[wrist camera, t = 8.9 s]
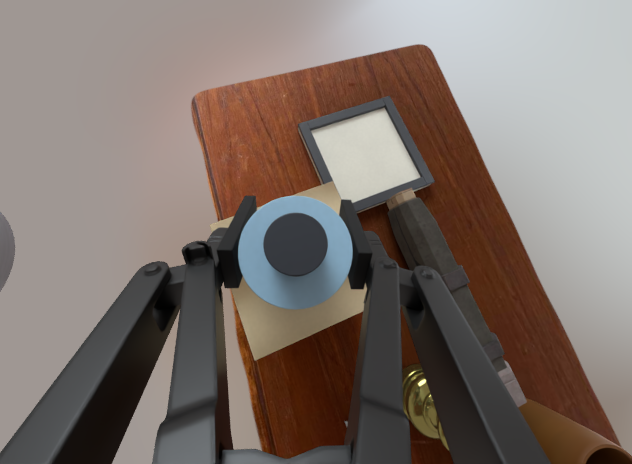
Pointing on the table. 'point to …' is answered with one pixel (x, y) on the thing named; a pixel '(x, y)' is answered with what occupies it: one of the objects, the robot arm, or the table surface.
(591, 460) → the mug
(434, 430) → the brass weight
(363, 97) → the table surface
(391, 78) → the table surface
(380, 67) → the table surface
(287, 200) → the cleaner bottle
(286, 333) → the stand
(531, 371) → the table surface
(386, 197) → the whiteboard
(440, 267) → the tube
